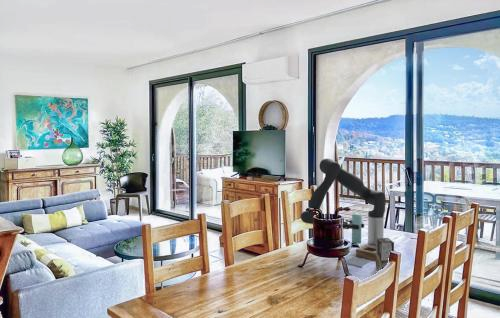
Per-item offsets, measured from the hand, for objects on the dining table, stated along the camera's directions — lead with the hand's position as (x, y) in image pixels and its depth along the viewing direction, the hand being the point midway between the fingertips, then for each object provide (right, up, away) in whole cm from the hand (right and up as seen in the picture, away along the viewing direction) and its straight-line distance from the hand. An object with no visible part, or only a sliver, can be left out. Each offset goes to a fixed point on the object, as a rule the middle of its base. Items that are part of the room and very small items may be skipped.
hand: (361, 226), depth 209 cm
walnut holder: (+9, -19, +14) cm, 25 cm away
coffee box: (+9, -21, -11) cm, 25 cm away
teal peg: (-2, -9, +2) cm, 9 cm away
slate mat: (-1, -20, +3) cm, 20 cm away
